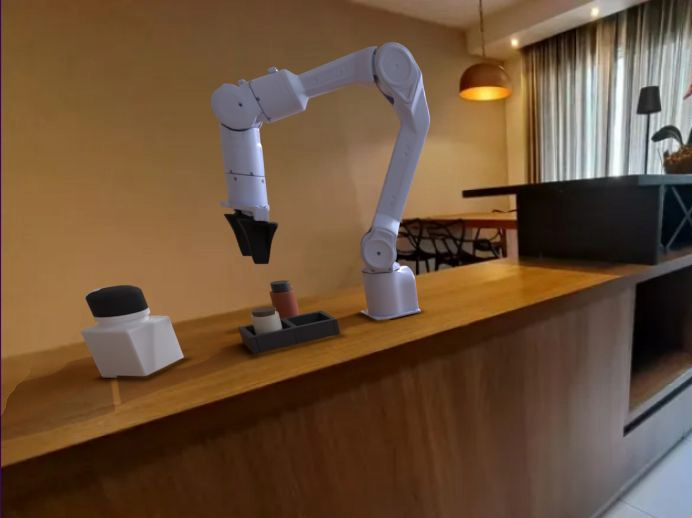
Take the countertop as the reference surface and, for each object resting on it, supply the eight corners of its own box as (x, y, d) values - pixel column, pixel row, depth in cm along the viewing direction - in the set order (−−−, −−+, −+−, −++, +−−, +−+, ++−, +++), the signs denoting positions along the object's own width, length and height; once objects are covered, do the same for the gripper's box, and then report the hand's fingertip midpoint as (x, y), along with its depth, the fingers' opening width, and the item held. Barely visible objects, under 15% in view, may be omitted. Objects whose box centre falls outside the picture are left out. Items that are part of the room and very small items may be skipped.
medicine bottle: (186, 360, 67) (157, 282, 62) (147, 379, 61) (111, 294, 56) (143, 359, 68) (112, 281, 63) (100, 378, 62) (61, 294, 57)
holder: (325, 327, 81) (321, 310, 79) (340, 336, 76) (337, 318, 75) (243, 345, 73) (238, 327, 71) (255, 357, 68) (249, 337, 67)
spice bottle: (297, 317, 87) (287, 278, 84) (304, 321, 84) (295, 282, 81) (274, 321, 84) (264, 282, 81) (281, 326, 82) (270, 286, 78)
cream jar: (281, 336, 75) (273, 304, 72) (288, 342, 72) (280, 309, 70) (255, 342, 72) (246, 309, 70) (262, 348, 70) (252, 314, 67)
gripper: (206, 169, 74) (219, 252, 79) (227, 174, 64) (239, 268, 70) (253, 174, 78) (262, 252, 84) (279, 179, 69) (287, 267, 74)
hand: (255, 259), depth 77 cm, fingers open, 7 cm apart
